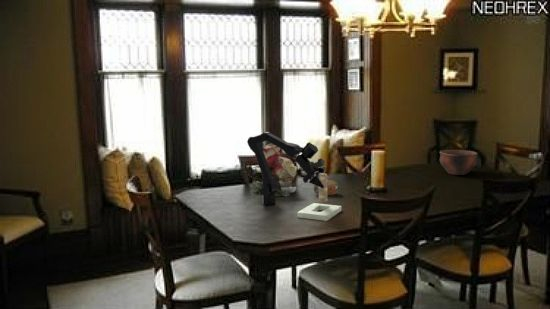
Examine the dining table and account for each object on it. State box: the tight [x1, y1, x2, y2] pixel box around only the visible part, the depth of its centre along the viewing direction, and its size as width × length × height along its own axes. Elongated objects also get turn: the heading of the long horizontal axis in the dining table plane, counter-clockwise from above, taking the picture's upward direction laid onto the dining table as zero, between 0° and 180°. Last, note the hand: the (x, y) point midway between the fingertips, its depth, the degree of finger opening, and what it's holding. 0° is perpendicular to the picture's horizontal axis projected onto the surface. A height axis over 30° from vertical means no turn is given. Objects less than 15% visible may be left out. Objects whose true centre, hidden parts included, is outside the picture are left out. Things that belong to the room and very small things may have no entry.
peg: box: [318, 172, 328, 203], centre depth 274 cm, size 4×4×14 cm
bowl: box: [439, 149, 478, 176], centre depth 361 cm, size 25×25×15 cm
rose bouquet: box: [249, 142, 298, 197], centre depth 322 cm, size 26×29×30 cm
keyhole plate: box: [296, 202, 342, 222], centre depth 272 cm, size 20×16×2 cm
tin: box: [313, 180, 340, 196], centre depth 312 cm, size 15×3×8 cm, turn 101°
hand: (325, 186), depth 273 cm, fingers closed on peg, 4 cm apart
